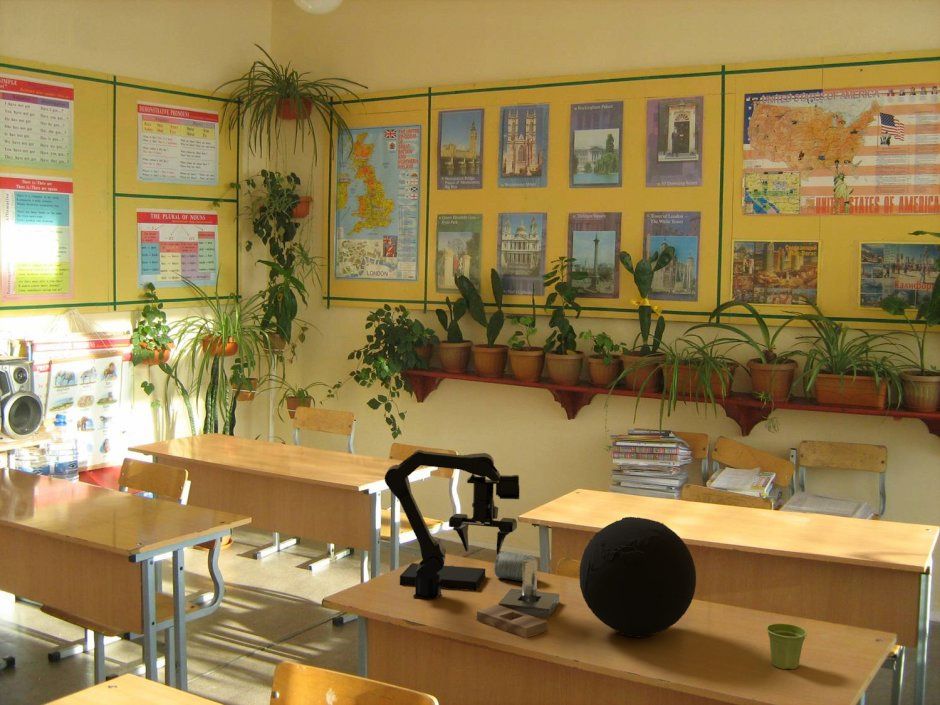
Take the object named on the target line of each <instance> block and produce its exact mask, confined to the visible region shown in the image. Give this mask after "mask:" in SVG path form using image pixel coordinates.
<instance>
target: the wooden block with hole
mask: <svg viewBox="0 0 940 705" xmlns="http://www.w3.org/2000/svg"><path fill="white" fill-rule="evenodd" d="M475 621H477V622H481V623H484V624H485V625H486V624H487V625H489V626H492V627H494V628H497V629H500V630H504V631H506V632H509V633H510V634H511V633H512V634H514V635H517V636H519V637H521V638H526V639H527V638H529V637H532V636H536V635H539V634H542V633H544V632H547V631H548V621H547V620H544V619H543V618H542V619H541V618H540V617H535V616H530V615H527V614H524V613H521V612H518V611H515V610H512V609H509V608H506V607H503V606H500V605H498V604H495V605H491V606H488V607H485V608H482V609H479V610H476V620H475Z"/></svg>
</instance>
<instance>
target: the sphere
mask: <svg viewBox="0 0 940 705" xmlns="http://www.w3.org/2000/svg"><path fill="white" fill-rule="evenodd" d="M578 571H579V573H578V574H579V587H580V592H581V594H582V598H583V599H584V601H585V603H586V605H587V608H589V610H590V611H591V612H592V614H594V616H595V617H596V618H598V621H601V622H602V623H603V624H604V625H606V626H607V627H608V628H610V629H613V630H614V631H616V632H619V633H620V634H622V635H623V636H624V635H626V636H629V637H633V638H642V637H643V638H645V637H649V636H650V637H651V636H652V635H655V634H658V633H661V632H663V631H665V630H667V629H669V628H670V627H672V626H673V625H675V624H676V623H678V622H679V621H680V619H681V618H683V616H684V615H685V614H686V612H687V611H688V610H689V608H690V606H691V603H692V602H693V598H694V596H695V592H696V588H697V571H696V565H695V562H694V559H693V555H692V554H691V551H690V550H689V547H688V546H687V545H686V543H685V542H684V541H683V539H682V538H681V537H680V536H679V535H678V534H677V533H676V532H675V531H674V530H673V529H671V528H669V527H668V526H667V525H666V524H664V522H660V521H657V520H653V519H649V518H644V517H639V516H637V517H635V516H627V517H622V518H621V519H619V520H615V521H614V522H611V523H609V524H607V525H606V526H604V527H603V528H602V529H601V530H599V531H597V532H596V533H595V534H594V535H593V537H592V538H591V539H589V542H588V544H587V545H586V546H585V548H584V550H583V554H582V556H581V560H580V565H579V570H578Z"/></svg>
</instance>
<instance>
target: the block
mask: <svg viewBox="0 0 940 705" xmlns="http://www.w3.org/2000/svg"><path fill="white" fill-rule="evenodd" d="M559 604H560V593H556V592H555V593H554V592H547V591H537V599H536V602H527V601H522V589H518V588H511V589H510V590H508V592H506V594H505V595H504V596H503V598H502V599H501V600H500V601H499V602H498V604H497V605H500V606H503V607H506V608H509V609H512V610H515V611H518V612H521V613H524V614H527V615H530V616H533V617H536V618H546V619H549V618H550V616H551V615H552V614H553V612H554V611H555V609H556V608H557V606H559Z"/></svg>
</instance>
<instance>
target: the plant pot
mask: <svg viewBox="0 0 940 705" xmlns="http://www.w3.org/2000/svg"><path fill="white" fill-rule="evenodd" d="M766 631H767V635H768V639H769V646H770V648H769V649H770V658H771V664H772V665H773V666H774V667H776V668H778V669H782V670H788V669H789V670H790V669H791V670H795V669H798V667H799V664H800V658H801V654H802V649H803V644H804V642H805V639H806V636H807V635H808V631H807V629H805V627H804V628H803V627H801V626H799V625H796V624H792V623H786V622H785V623H783V622H779V623H771V624H768V625H766Z"/></svg>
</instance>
